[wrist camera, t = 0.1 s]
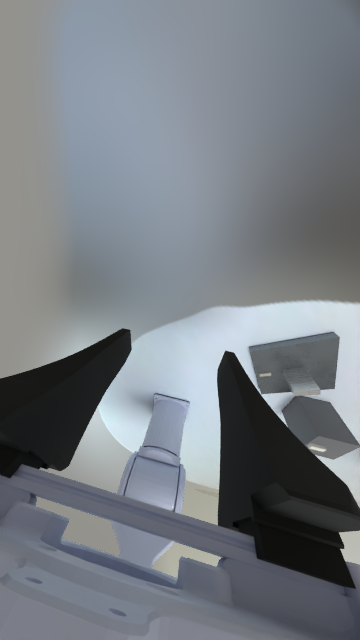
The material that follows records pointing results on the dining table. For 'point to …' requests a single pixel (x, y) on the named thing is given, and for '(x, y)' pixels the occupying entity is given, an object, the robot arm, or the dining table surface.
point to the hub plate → (297, 365)
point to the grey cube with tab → (319, 427)
